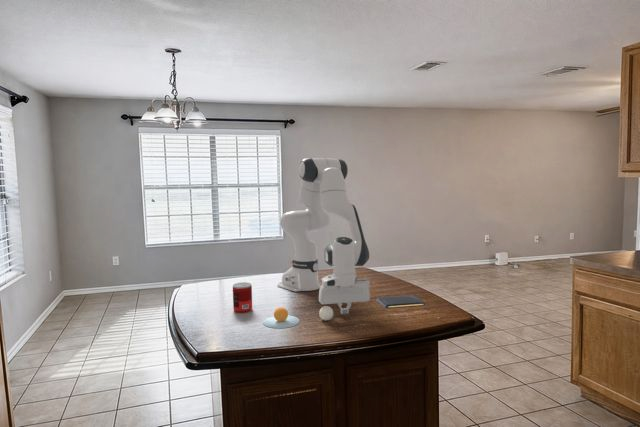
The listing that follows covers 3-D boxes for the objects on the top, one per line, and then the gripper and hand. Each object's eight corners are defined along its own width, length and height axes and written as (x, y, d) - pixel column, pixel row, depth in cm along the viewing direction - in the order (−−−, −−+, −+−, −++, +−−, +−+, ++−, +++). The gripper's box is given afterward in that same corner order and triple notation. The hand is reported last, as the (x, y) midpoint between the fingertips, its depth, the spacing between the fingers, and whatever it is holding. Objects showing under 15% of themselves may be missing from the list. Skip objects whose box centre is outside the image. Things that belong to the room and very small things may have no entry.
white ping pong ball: (332, 303, 163) (337, 313, 166) (320, 302, 166) (325, 312, 169) (326, 313, 159) (331, 324, 162) (314, 312, 162) (319, 322, 165)
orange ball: (277, 303, 163) (290, 307, 163) (274, 308, 167) (287, 312, 168) (274, 316, 159) (288, 320, 160) (271, 321, 163) (284, 325, 164)
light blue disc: (255, 323, 162) (255, 323, 161) (279, 313, 173) (279, 313, 173) (283, 331, 153) (283, 330, 153) (306, 319, 165) (306, 319, 165)
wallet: (416, 293, 195) (429, 303, 180) (416, 297, 195) (429, 307, 180) (374, 296, 192) (384, 306, 177) (374, 300, 192) (384, 310, 177)
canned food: (255, 308, 181) (254, 282, 180) (246, 314, 173) (245, 287, 172) (239, 306, 183) (238, 281, 182) (230, 312, 176) (229, 286, 175)
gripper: (367, 275, 171) (367, 309, 172) (317, 278, 167) (318, 312, 169) (372, 279, 164) (372, 314, 166) (320, 282, 161) (320, 317, 162)
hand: (344, 313), depth 167 cm, fingers closed
